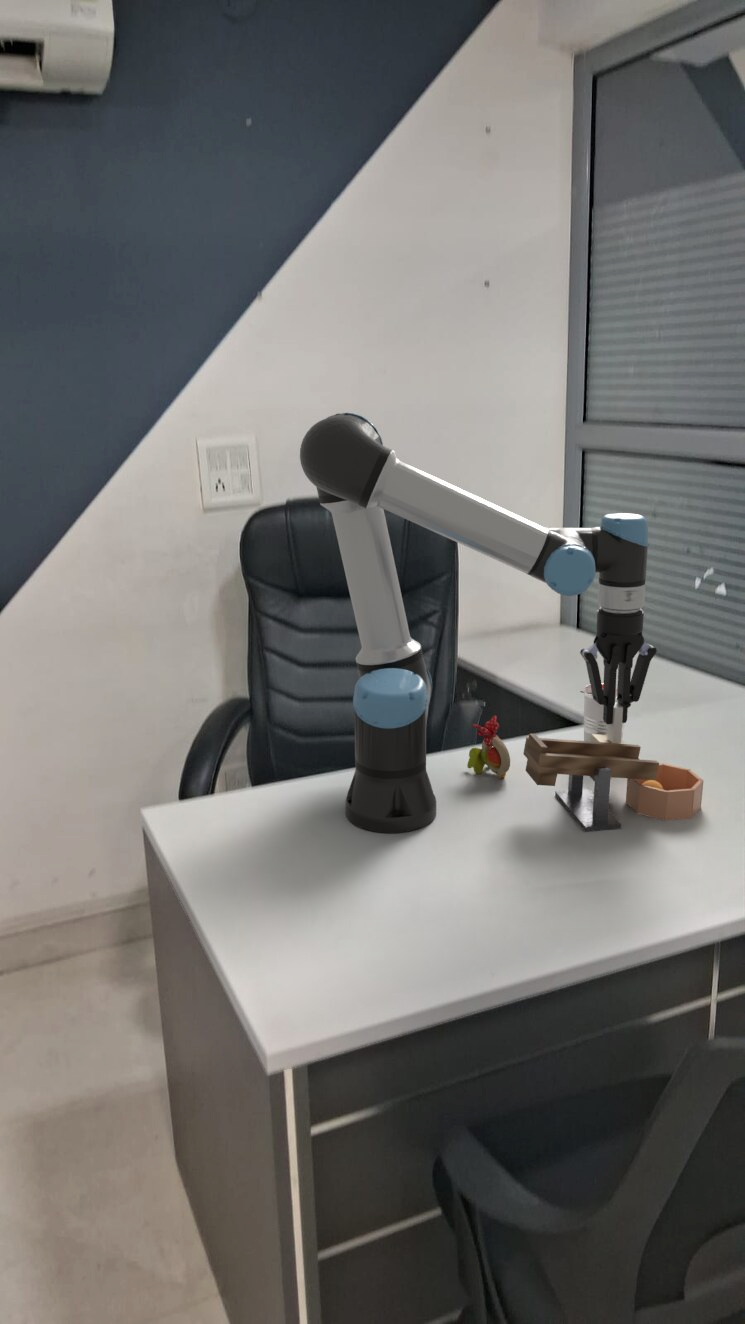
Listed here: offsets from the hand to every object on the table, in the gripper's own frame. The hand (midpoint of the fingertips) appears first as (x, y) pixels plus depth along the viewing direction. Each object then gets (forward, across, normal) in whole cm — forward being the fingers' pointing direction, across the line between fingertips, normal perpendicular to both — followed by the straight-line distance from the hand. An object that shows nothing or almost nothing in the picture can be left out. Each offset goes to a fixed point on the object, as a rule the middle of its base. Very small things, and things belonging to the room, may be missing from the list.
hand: (613, 740), depth 171 cm
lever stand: (+9, -8, -8) cm, 14 cm away
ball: (+6, +3, -8) cm, 11 cm away
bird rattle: (+9, -19, +10) cm, 23 cm away
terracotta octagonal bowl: (+9, +6, -8) cm, 13 cm away
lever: (+3, -8, -5) cm, 10 cm away
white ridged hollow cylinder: (+9, +5, +17) cm, 20 cm away
